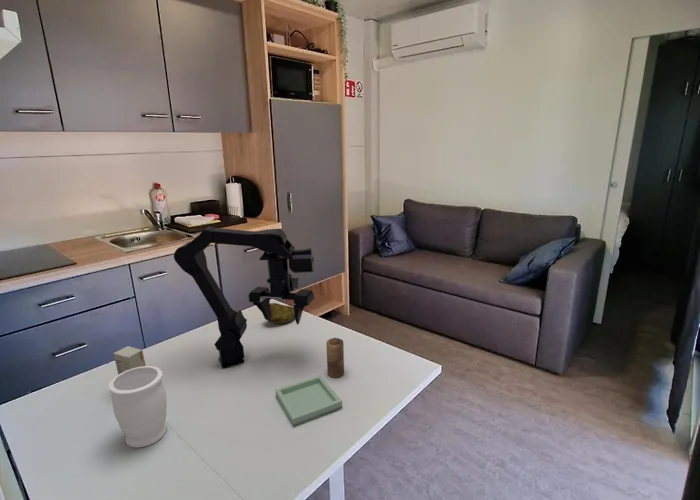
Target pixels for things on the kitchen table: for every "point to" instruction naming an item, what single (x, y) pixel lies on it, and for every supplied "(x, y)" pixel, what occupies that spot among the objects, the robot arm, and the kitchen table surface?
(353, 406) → the kitchen table surface
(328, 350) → the mill
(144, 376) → the jar
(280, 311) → the potato
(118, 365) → the skincare box
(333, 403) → the tray
